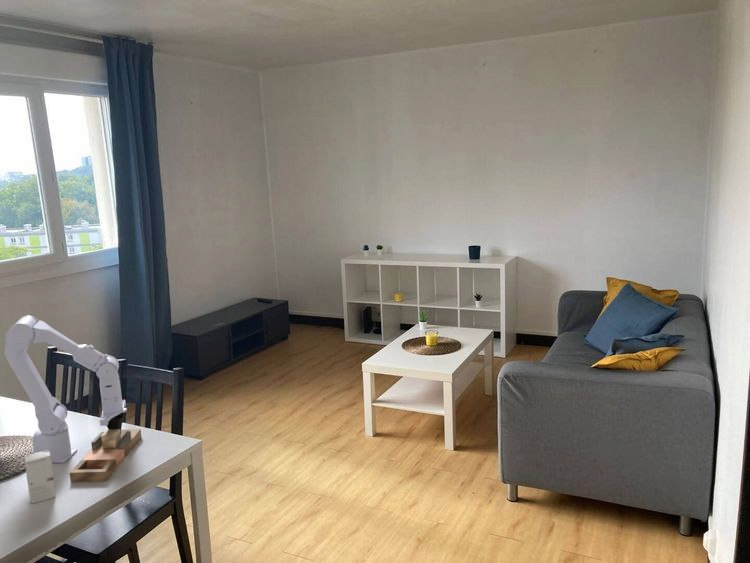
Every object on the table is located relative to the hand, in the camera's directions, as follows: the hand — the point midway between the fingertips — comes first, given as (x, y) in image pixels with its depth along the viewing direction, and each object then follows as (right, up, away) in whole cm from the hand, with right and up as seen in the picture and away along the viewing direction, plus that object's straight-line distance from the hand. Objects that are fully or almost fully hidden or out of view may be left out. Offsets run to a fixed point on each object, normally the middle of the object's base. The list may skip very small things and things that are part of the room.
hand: (116, 437), depth 185 cm
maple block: (0, -1, -3) cm, 3 cm away
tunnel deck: (0, -5, -6) cm, 7 cm away
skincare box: (-9, -10, -25) cm, 29 cm away
